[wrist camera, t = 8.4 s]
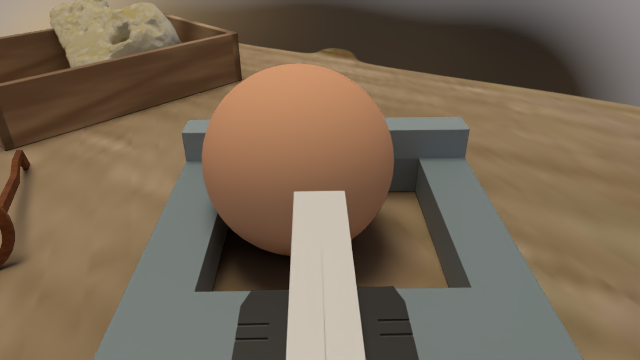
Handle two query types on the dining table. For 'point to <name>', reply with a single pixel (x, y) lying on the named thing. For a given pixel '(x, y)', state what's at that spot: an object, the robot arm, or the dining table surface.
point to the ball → (295, 151)
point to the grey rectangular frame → (422, 303)
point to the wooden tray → (104, 80)
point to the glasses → (4, 201)
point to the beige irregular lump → (109, 30)
